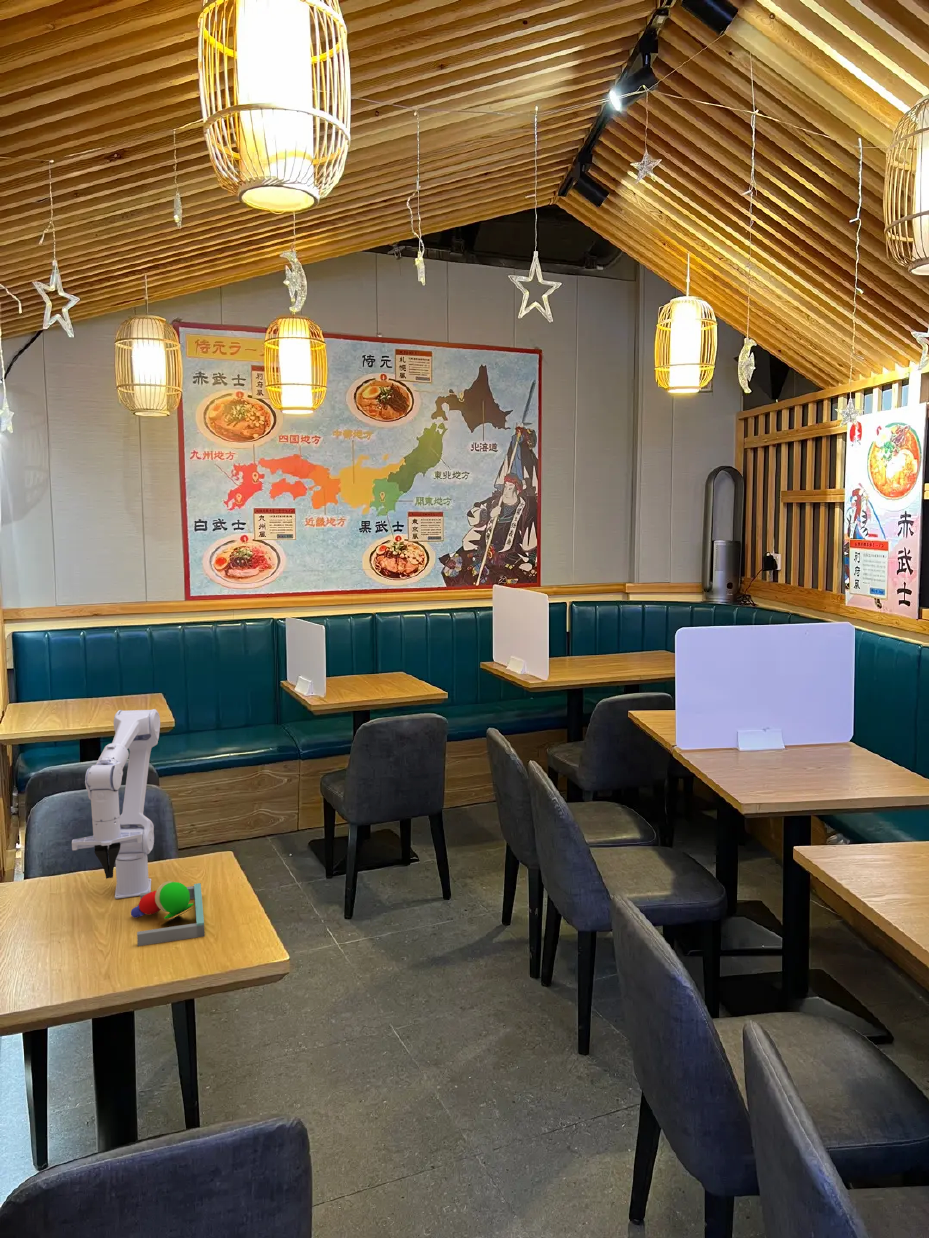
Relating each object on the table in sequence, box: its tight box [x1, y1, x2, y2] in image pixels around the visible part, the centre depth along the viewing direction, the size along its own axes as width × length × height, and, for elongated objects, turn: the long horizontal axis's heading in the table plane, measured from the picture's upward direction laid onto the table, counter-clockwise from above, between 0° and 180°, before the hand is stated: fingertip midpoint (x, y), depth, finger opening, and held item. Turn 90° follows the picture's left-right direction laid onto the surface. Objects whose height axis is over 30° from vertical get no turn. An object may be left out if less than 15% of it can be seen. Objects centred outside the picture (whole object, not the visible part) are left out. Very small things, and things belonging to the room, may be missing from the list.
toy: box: [130, 880, 195, 923], centre depth 201 cm, size 8×8×15 cm
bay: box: [136, 882, 206, 947], centre depth 202 cm, size 23×14×3 cm, turn 18°
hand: (109, 876), depth 203 cm, fingers closed
